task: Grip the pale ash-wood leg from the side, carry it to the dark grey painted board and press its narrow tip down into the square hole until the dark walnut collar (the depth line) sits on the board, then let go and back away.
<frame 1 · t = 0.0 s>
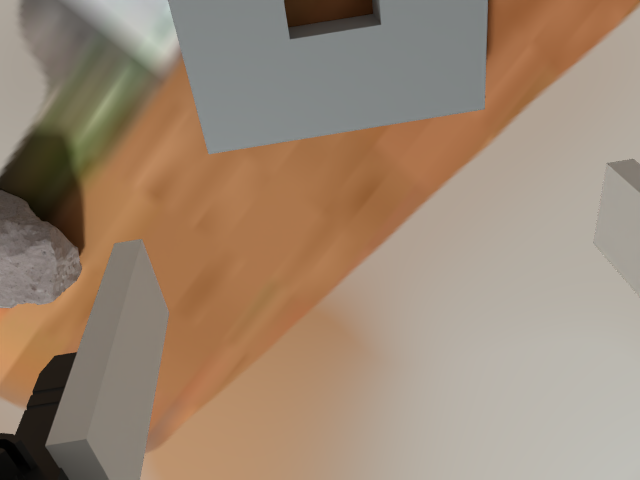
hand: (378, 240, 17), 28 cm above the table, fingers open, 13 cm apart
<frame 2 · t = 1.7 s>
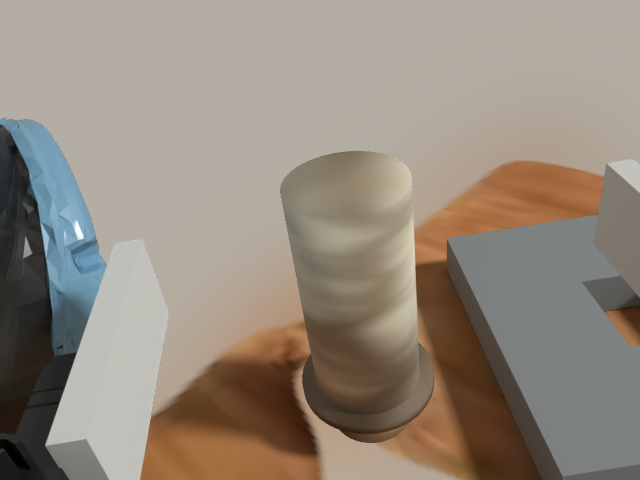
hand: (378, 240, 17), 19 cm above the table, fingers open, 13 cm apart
ash leg: (371, 409, 36), on the table
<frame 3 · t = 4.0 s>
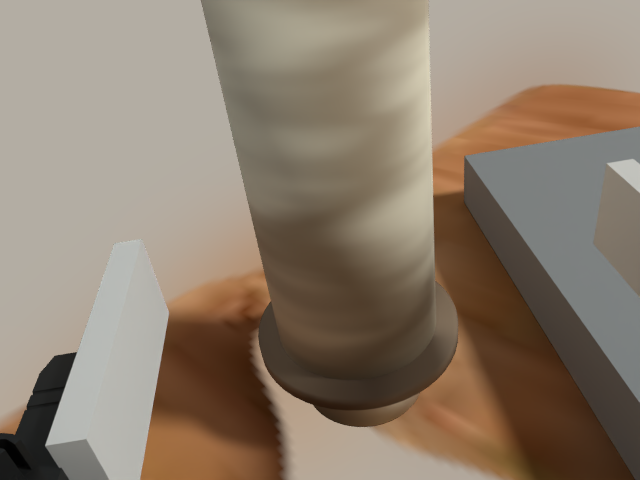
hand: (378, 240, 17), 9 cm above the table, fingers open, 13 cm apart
ash leg: (363, 378, 24), on the table
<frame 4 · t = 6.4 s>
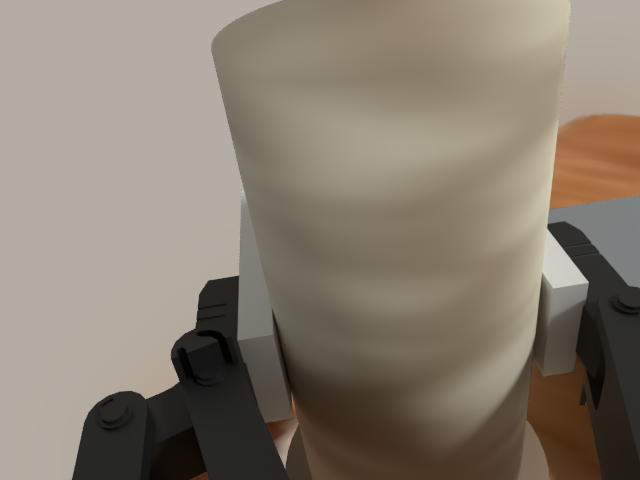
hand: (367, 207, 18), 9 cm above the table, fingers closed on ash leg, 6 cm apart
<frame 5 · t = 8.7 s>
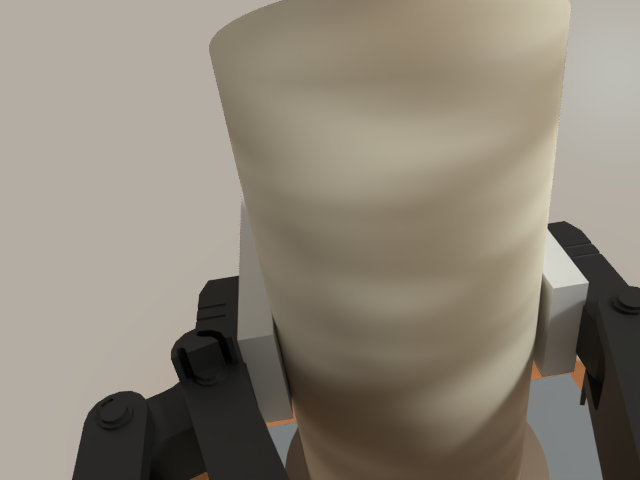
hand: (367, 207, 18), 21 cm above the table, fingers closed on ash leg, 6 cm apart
when the fingers open (9 cm above the table, at t = 11.3 s): ash leg stays where it is, resting on leg board.
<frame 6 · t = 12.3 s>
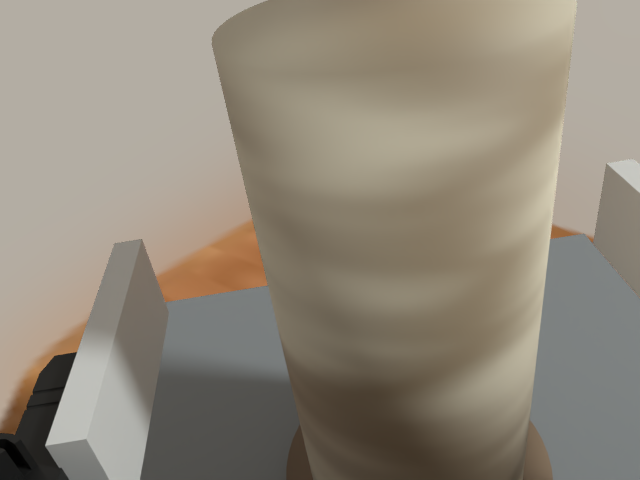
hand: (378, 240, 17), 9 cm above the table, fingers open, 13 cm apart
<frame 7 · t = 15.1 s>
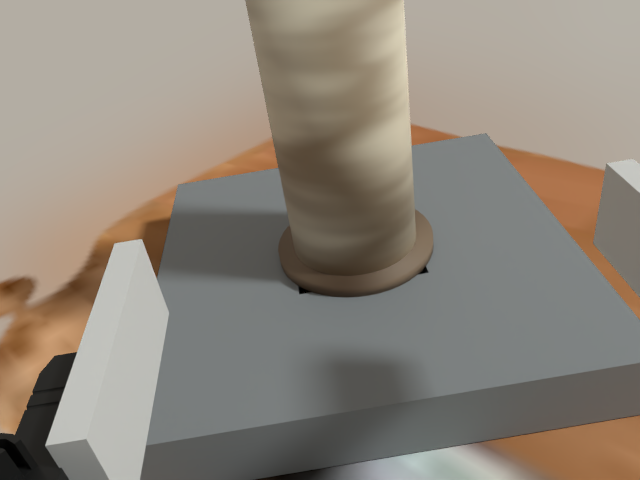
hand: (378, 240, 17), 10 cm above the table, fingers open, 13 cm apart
ash leg: (360, 289, 31), resting on leg board
leg board: (360, 292, 31), on the table
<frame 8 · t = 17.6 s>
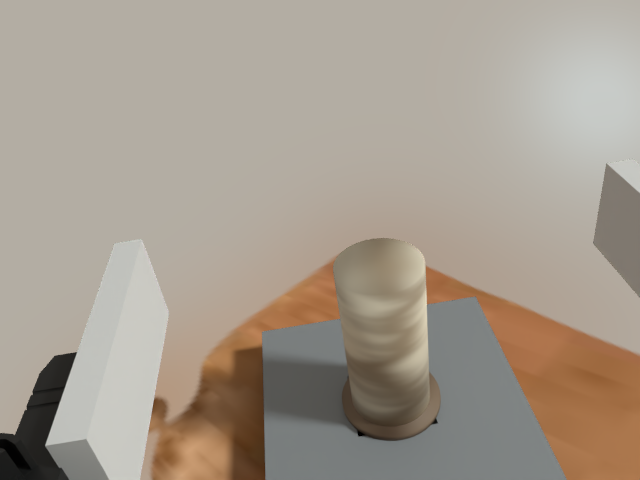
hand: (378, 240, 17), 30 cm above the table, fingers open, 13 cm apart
ash leg: (393, 421, 47), resting on leg board
leg board: (392, 422, 47), on the table
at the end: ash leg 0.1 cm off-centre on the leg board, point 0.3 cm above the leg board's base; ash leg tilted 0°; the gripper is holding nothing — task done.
